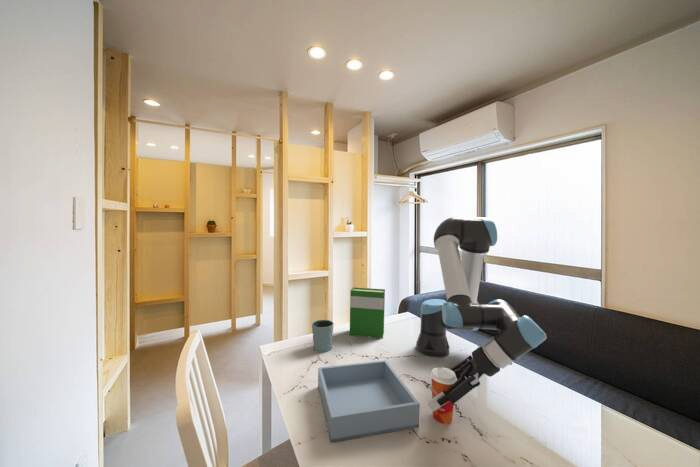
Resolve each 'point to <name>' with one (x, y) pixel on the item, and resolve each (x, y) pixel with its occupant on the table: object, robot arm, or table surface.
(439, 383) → the paper cup
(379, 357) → the table surface
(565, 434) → the table surface
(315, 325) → the grey-blue cup
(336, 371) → the bin
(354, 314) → the hardback book
